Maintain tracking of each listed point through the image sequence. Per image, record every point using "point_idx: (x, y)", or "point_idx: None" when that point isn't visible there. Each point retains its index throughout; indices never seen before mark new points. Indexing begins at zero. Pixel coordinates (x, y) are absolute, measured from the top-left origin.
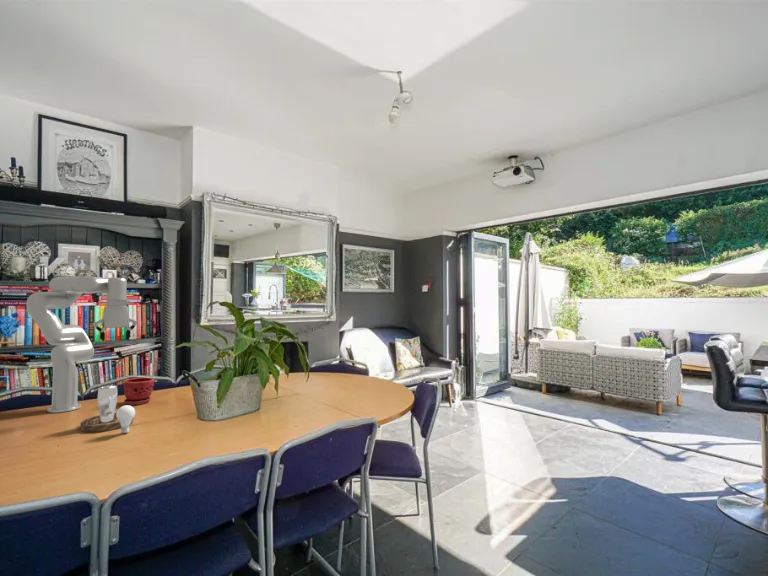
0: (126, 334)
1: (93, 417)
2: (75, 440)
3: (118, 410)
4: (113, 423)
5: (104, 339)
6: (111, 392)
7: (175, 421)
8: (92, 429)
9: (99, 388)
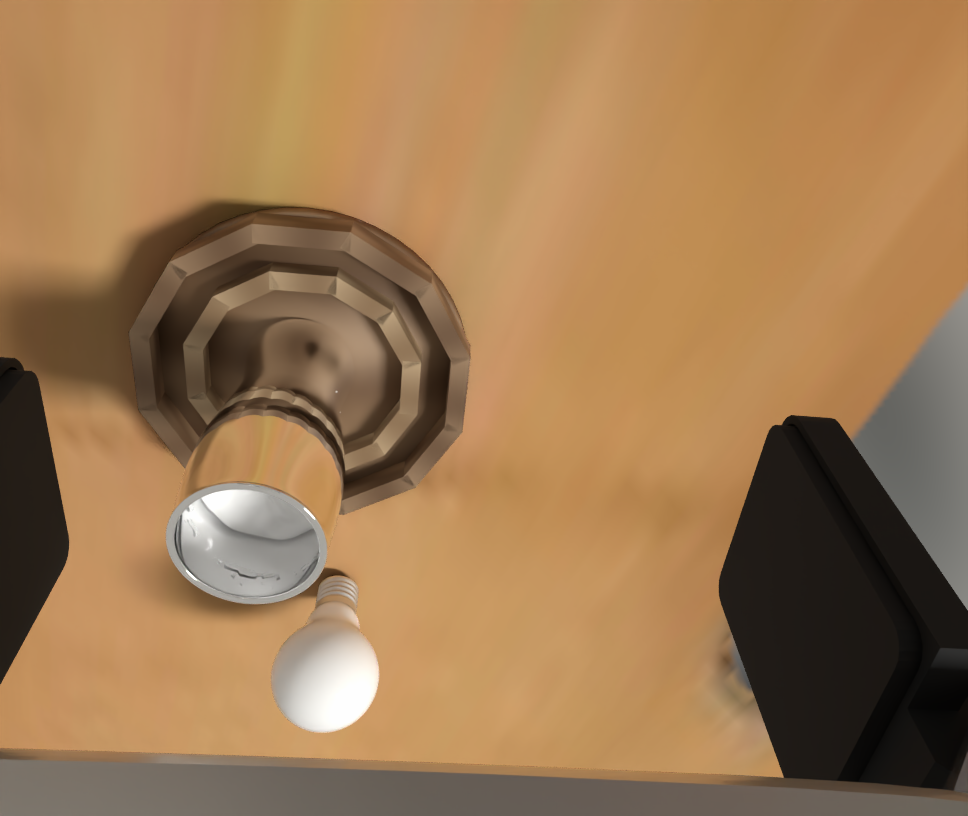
0: (805, 621)
1: (226, 256)
2: (102, 516)
3: (276, 702)
4: None
5: (44, 582)
6: (269, 577)
7: (624, 582)
8: None
9: (171, 549)
